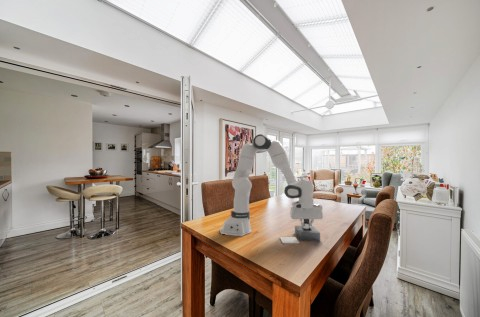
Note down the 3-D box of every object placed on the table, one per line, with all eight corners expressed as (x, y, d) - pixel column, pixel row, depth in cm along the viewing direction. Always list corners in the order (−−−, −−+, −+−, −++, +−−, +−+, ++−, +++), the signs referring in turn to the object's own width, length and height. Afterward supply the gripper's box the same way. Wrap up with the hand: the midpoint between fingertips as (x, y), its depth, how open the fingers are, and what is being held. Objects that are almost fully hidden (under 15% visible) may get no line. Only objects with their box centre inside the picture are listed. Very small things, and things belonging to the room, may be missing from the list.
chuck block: (300, 240, 107) (300, 232, 107) (295, 233, 119) (294, 225, 119) (320, 240, 107) (320, 232, 107) (312, 233, 119) (312, 225, 119)
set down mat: (282, 243, 103) (282, 242, 104) (279, 237, 111) (279, 237, 112) (299, 243, 103) (299, 242, 103) (295, 238, 111) (295, 237, 111)
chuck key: (301, 231, 114) (302, 218, 114) (306, 231, 116) (306, 217, 116) (305, 234, 111) (306, 220, 111) (310, 233, 112) (310, 219, 112)
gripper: (320, 203, 116) (320, 224, 116) (289, 203, 117) (289, 223, 117) (324, 205, 110) (324, 227, 110) (292, 205, 111) (292, 227, 110)
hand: (306, 225), depth 113 cm, fingers closed on chuck key, 4 cm apart
